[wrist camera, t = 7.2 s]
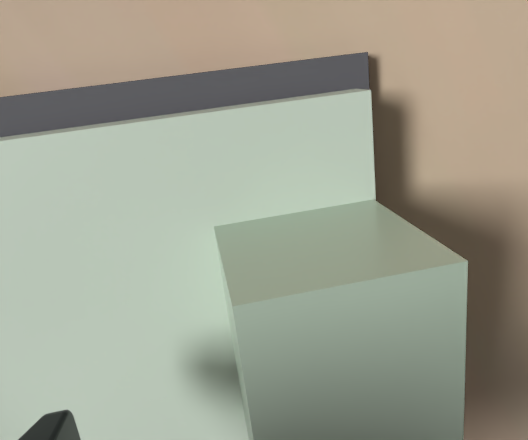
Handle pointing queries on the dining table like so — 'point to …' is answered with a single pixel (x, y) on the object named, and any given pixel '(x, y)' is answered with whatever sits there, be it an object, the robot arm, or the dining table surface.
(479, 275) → the dining table surface
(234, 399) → the lid
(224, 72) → the mat
